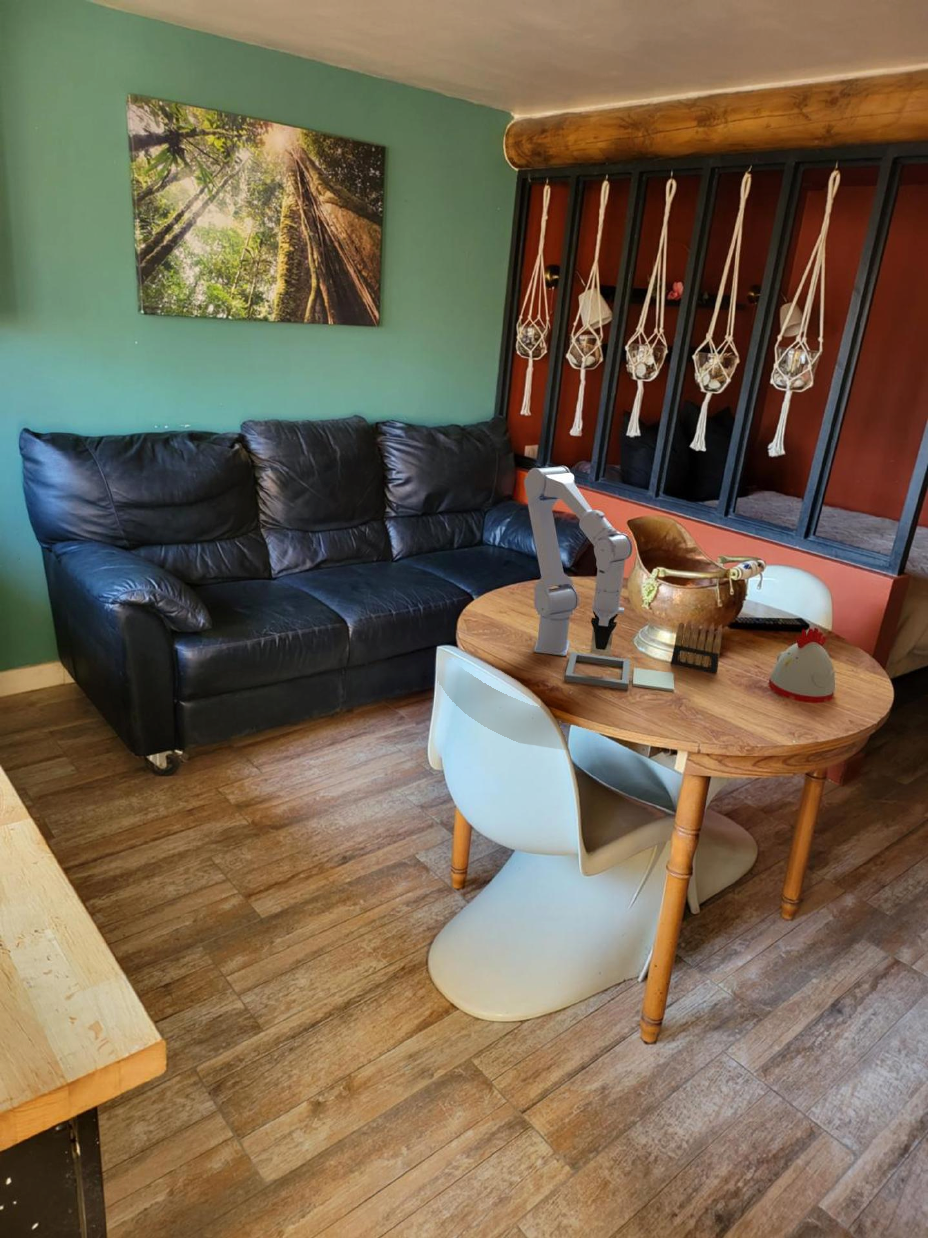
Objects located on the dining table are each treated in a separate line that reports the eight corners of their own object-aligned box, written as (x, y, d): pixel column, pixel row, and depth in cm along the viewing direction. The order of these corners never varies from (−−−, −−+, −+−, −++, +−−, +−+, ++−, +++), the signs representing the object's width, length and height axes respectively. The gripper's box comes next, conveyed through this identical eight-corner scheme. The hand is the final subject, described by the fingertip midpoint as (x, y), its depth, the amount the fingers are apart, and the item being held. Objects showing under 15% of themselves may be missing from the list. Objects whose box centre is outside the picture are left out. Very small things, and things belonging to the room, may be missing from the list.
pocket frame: (570, 657, 199) (571, 651, 198) (629, 665, 196) (630, 659, 196) (564, 681, 186) (565, 675, 185) (627, 689, 183) (628, 683, 183)
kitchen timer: (755, 680, 193) (767, 619, 187) (802, 674, 197) (815, 615, 192) (797, 706, 180) (811, 642, 175) (846, 699, 185) (861, 637, 180)
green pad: (633, 670, 194) (633, 667, 194) (672, 675, 192) (673, 673, 192) (632, 685, 185) (632, 683, 185) (673, 691, 184) (674, 689, 184)
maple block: (591, 645, 192) (594, 623, 190) (611, 648, 191) (613, 626, 189) (590, 653, 187) (592, 630, 185) (610, 655, 187) (612, 633, 185)
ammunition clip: (670, 664, 198) (677, 617, 194) (672, 661, 200) (679, 615, 196) (716, 674, 194) (724, 626, 190) (717, 671, 196) (725, 624, 192)
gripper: (625, 600, 176) (617, 659, 181) (627, 580, 190) (620, 635, 195) (592, 596, 178) (585, 654, 182) (596, 577, 191) (590, 631, 196)
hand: (601, 644), depth 189 cm, fingers closed on maple block, 4 cm apart
